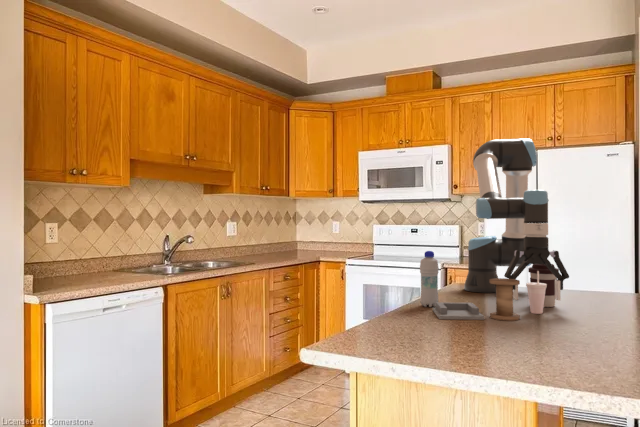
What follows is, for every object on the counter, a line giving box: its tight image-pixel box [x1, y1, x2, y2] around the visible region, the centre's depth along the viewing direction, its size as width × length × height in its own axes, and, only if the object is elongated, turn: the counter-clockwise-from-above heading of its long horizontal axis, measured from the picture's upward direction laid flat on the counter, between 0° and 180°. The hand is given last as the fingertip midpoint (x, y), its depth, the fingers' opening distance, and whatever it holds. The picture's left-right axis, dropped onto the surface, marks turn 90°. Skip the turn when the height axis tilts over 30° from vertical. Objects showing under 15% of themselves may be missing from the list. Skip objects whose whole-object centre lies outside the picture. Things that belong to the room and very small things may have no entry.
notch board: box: [432, 301, 486, 321], centre depth 161 cm, size 14×14×3 cm
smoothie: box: [525, 271, 547, 315], centre depth 164 cm, size 6×6×14 cm
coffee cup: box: [528, 263, 560, 308], centre depth 176 cm, size 10×10×15 cm
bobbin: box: [489, 277, 521, 322], centre depth 156 cm, size 9×9×12 cm
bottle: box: [419, 250, 439, 308], centre depth 177 cm, size 7×7×20 cm
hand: (536, 299), depth 164 cm, fingers open, 13 cm apart
